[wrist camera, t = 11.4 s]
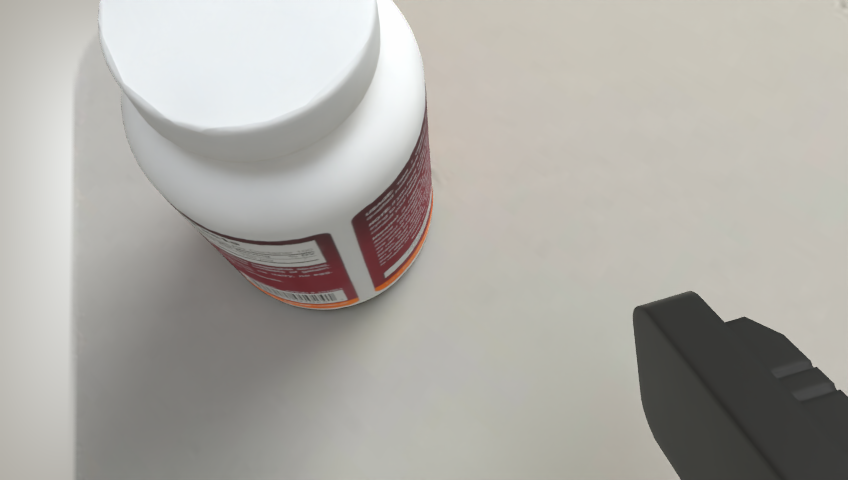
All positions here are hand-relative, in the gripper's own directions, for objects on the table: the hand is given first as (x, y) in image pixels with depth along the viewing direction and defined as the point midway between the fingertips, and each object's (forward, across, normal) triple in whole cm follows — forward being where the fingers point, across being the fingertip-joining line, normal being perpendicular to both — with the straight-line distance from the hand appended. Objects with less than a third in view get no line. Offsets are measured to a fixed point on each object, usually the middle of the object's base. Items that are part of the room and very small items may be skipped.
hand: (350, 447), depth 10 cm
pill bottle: (+14, 0, -3) cm, 14 cm away
